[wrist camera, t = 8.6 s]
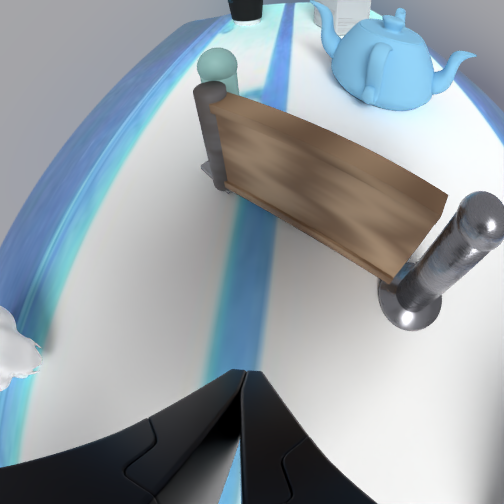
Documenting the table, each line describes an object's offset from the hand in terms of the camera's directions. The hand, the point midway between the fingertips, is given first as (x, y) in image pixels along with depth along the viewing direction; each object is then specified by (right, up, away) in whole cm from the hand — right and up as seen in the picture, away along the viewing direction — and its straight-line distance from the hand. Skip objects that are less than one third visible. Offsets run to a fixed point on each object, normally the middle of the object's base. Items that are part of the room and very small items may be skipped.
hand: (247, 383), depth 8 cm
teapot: (+17, +25, +25) cm, 39 cm away
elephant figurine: (-18, -5, +11) cm, 22 cm away
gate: (+4, +6, +14) cm, 16 cm away
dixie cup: (-1, +46, +37) cm, 59 cm away
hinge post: (+11, 0, +12) cm, 16 cm away
